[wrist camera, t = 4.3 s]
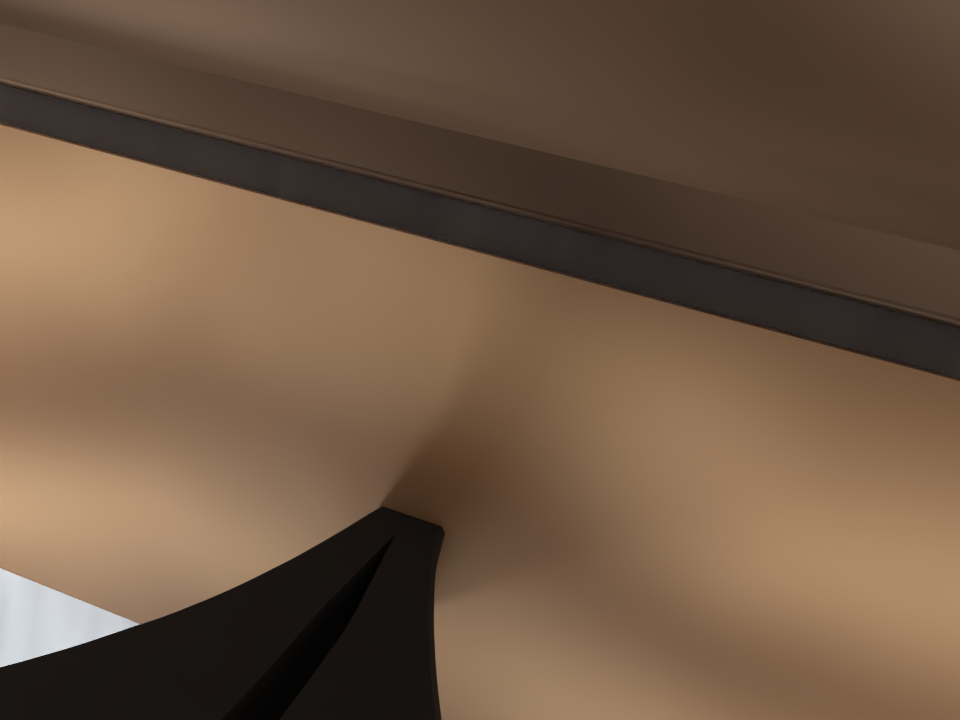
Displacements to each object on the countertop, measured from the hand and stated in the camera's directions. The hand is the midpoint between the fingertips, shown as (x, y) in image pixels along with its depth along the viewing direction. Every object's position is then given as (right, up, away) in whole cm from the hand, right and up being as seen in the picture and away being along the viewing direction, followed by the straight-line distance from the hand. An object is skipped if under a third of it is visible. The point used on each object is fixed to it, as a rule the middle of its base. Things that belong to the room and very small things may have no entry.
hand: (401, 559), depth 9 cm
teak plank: (0, +1, +1) cm, 2 cm away
